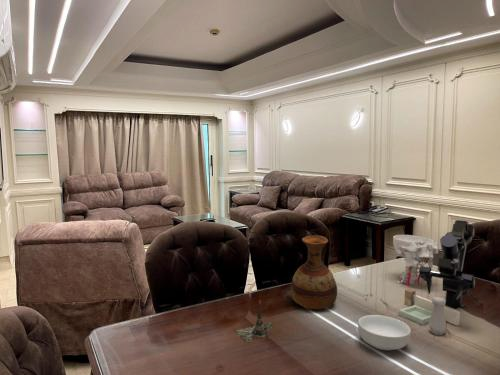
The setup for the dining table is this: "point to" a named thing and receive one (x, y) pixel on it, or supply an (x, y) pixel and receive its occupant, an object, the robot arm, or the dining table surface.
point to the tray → (416, 314)
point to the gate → (427, 304)
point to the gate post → (409, 297)
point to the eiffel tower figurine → (255, 328)
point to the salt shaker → (438, 317)
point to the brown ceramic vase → (314, 277)
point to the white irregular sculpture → (414, 255)
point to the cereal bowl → (384, 332)
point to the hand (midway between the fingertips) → (442, 296)
